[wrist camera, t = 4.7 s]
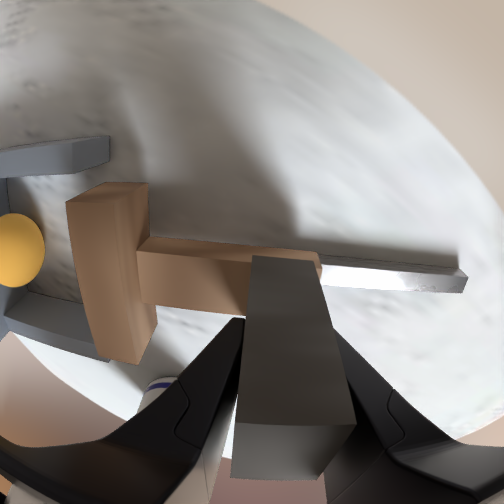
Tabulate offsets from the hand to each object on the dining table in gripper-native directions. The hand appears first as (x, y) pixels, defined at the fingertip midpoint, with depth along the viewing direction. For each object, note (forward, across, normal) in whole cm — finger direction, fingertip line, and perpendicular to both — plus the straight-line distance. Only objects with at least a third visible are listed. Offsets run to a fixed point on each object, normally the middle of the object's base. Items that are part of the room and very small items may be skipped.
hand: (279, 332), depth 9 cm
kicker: (+4, +3, 0) cm, 5 cm away
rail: (+5, -5, 0) cm, 7 cm away
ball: (+3, +14, 0) cm, 14 cm away
